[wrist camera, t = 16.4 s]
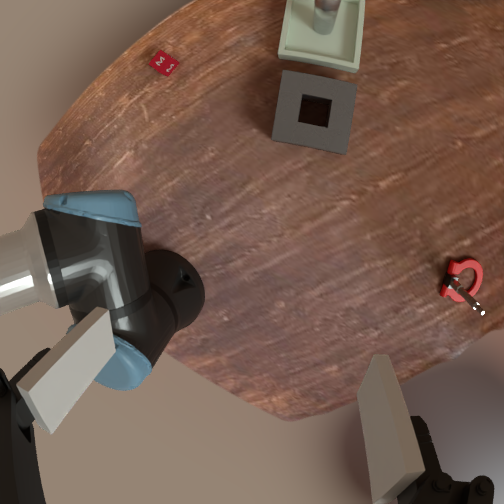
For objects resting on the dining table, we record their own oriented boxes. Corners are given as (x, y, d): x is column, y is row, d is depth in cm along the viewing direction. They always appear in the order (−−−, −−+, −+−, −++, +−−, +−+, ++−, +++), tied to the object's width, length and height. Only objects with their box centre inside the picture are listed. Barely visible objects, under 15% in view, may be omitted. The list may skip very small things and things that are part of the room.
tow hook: (485, 260, 42) (449, 254, 43) (524, 290, 30) (489, 286, 31) (471, 300, 45) (436, 297, 46) (504, 336, 33) (468, 337, 33)
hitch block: (274, 141, 42) (271, 139, 37) (284, 78, 38) (282, 69, 33) (340, 154, 41) (346, 154, 36) (351, 91, 37) (357, 84, 33)
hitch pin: (305, 36, 35) (306, -17, 19) (308, 12, 33) (310, -45, 18) (337, 42, 34) (354, -8, 19) (339, 17, 32) (356, -37, 17)
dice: (167, 54, 39) (160, 49, 36) (179, 62, 39) (172, 58, 36) (156, 68, 40) (148, 64, 37) (168, 76, 40) (160, 73, 37)
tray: (279, 58, 37) (277, 53, 35) (290, -9, 32) (289, -16, 30) (355, 73, 36) (358, 69, 34) (362, 4, 31) (365, -2, 29)
